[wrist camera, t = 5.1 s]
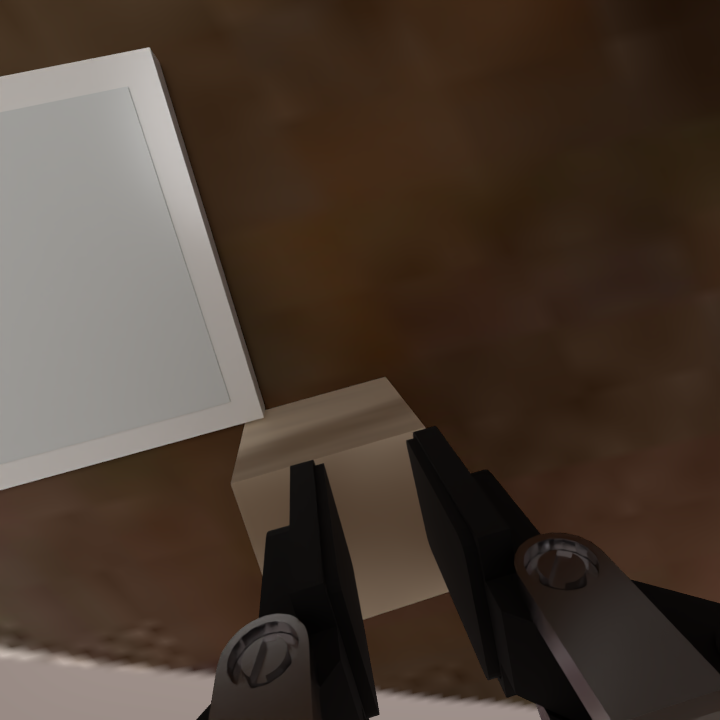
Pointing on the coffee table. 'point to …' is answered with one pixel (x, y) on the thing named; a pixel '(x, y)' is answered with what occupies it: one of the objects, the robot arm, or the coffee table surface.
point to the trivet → (107, 275)
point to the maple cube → (346, 486)
